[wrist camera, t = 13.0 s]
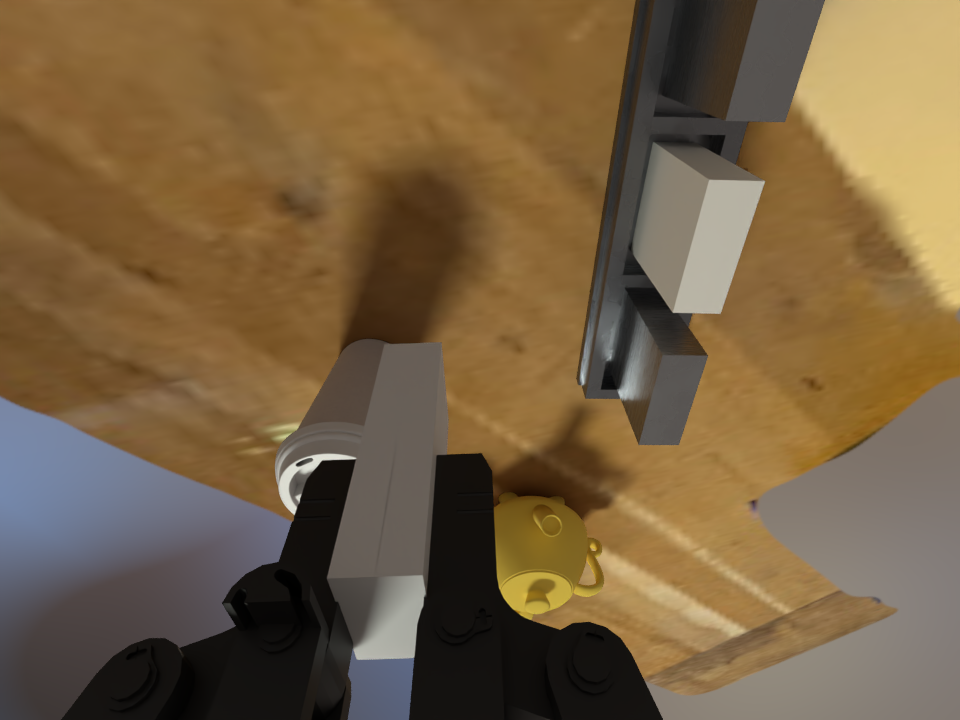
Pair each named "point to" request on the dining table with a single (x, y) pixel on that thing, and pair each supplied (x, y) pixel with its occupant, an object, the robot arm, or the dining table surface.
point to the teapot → (542, 553)
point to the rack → (641, 121)
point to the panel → (693, 224)
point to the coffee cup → (330, 420)
